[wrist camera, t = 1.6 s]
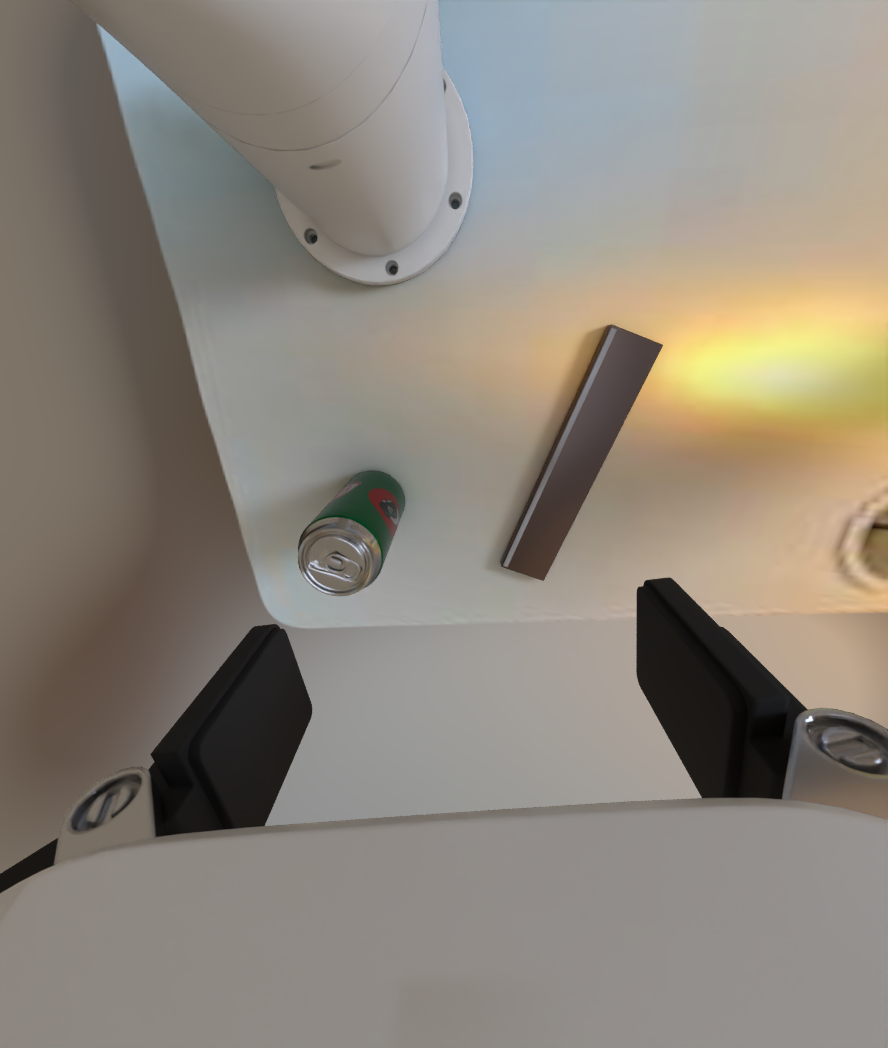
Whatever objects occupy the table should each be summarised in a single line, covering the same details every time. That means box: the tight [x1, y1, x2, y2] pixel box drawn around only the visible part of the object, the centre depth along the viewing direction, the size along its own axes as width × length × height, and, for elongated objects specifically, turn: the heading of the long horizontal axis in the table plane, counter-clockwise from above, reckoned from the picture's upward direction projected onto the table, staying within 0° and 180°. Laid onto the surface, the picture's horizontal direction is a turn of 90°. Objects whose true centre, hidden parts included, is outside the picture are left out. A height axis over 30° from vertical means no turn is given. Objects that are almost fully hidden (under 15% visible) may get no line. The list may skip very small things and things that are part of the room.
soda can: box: [298, 471, 405, 596], centre depth 29 cm, size 5×5×12 cm
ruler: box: [501, 325, 663, 581], centre depth 32 cm, size 4×20×1 cm, turn 161°
